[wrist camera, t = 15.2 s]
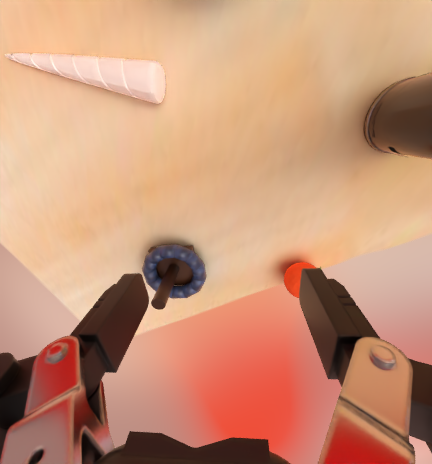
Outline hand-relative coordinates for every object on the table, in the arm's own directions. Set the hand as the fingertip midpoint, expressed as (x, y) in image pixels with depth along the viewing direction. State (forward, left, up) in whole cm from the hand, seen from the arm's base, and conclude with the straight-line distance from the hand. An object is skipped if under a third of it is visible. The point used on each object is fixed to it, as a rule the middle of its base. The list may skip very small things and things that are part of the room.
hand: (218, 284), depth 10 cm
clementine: (-13, +20, -28) cm, 37 cm away
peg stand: (+13, +18, -28) cm, 36 cm away
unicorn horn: (+19, -16, -28) cm, 38 cm away
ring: (+13, +18, -25) cm, 34 cm away
